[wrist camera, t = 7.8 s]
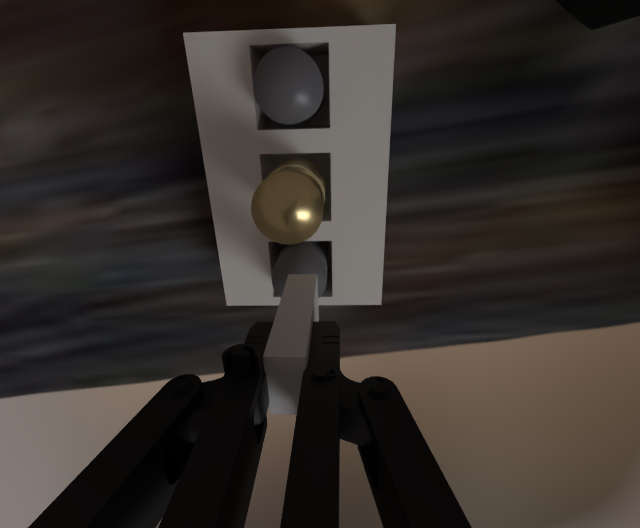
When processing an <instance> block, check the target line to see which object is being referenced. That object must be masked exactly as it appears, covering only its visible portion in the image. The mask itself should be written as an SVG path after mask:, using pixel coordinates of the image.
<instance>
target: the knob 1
mask: <svg viewBox="0 0 640 528" xmlns="http://www.w3.org/2000/svg"><path fill="white" fill-rule="evenodd" d="M253 89H254V95H255V98H256V101H257V103H258V105H259V107H260V108H261V110H262V111H263V112H264V113H265V114H266V115H267V116H268V117H269V118H271V119H272V120H274V121H276V122H278V123H282V124H296V123H300V122H302V121H304V120H307V119H309V118H311V117H312V116H314V115H315V114H316V113H317V112H318V111H319V110H320V108H321V106H322V104H323V102H324V98H325V85H324V81H323V78H322V76H321V73H320V71H319V68H318V66H317V65H316V63H315V61H314V60H313V59H312V58H311V57H310V56H309V55H308V54H307V53H306V52H304V51H302V50H301V49H298V48H295V47H291V46H283V47H278V48H275V49H273V50H271V51H269V52H268V53H267V54H266V55H264V57H263V58H262V59H261V60H260V62H259V63H258V65H257V67H256V70H255V73H254V78H253Z"/></svg>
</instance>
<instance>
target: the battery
mask: <svg viewBox="0 0 640 528" xmlns="http://www.w3.org/2000/svg"><path fill="white" fill-rule="evenodd" d="M558 1H559V2H560V3H561V4H562V5H563V6H565V7H566V8H567V9H568V10H569V11H570V12H571V13H572V14H573V15H575V16H576V17H577V18H578V19H579V20H580V21H581V22H582V23H583V24H585V25H586V26H587V27H588V28H589V29H597V28H600V27H604V26H607V25H610V24H614V23H617V22H620V21H624V20H627V19H631V18H634V17H637V16H640V0H558Z"/></svg>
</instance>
